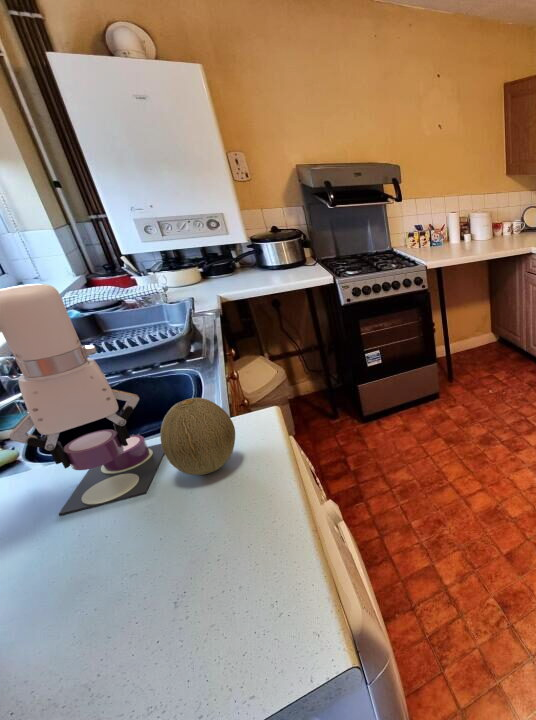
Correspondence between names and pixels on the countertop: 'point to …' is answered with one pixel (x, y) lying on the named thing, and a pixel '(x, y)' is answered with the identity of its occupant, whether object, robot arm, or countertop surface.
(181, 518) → the countertop surface
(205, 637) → the countertop surface
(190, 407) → the fruit
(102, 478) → the mat
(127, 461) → the dish
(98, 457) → the dish
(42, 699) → the countertop surface
